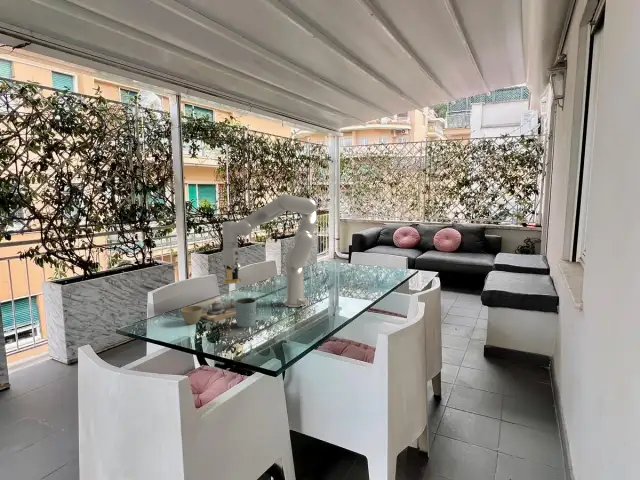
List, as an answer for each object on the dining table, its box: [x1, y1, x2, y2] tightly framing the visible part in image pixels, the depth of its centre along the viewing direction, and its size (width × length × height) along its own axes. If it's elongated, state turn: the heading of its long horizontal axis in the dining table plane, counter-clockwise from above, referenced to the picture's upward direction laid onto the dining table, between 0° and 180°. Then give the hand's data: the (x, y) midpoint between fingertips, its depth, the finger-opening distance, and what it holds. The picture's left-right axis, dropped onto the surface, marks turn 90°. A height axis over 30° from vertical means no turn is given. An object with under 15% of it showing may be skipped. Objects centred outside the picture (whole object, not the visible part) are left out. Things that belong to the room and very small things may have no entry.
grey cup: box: [234, 297, 257, 329], centre depth 183 cm, size 10×10×12 cm
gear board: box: [200, 298, 236, 322], centre depth 202 cm, size 15×25×7 cm, turn 140°
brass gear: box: [222, 267, 242, 285], centre depth 204 cm, size 10×10×7 cm
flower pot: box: [180, 305, 203, 325], centre depth 187 cm, size 10×10×7 cm
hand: (231, 278), depth 204 cm, fingers closed on brass gear, 5 cm apart
